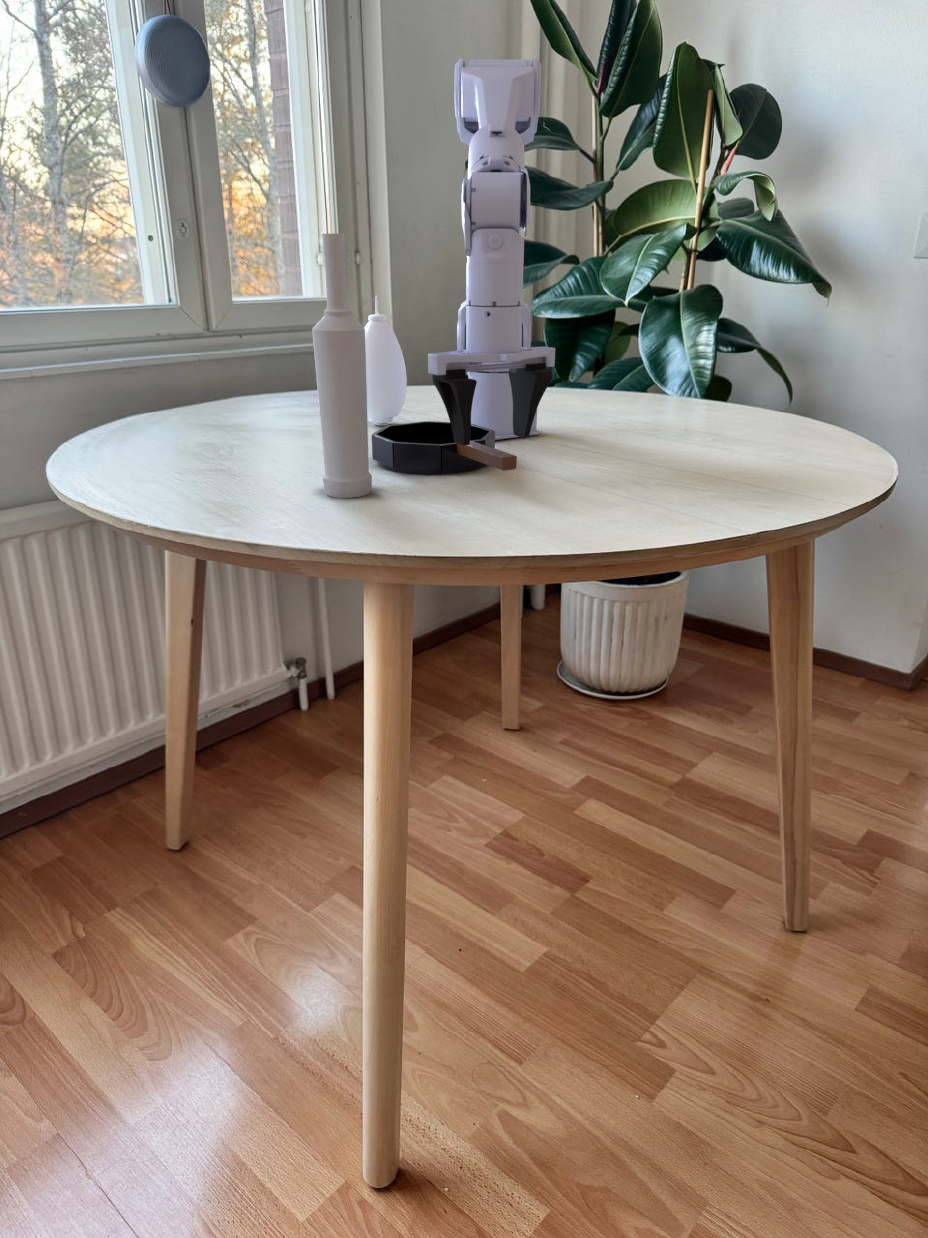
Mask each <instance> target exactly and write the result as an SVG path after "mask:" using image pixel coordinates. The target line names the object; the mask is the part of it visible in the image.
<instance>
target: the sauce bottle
mask: <svg viewBox="0 0 928 1238" xmlns="http://www.w3.org/2000/svg"><path fill="white" fill-rule="evenodd" d="M374 301H375V303H374V304H375V305H374V306H375V311H374V312H375V314H369V315H368V317H367V321H368V322H367V323H366V324H365V326H364V328H365V348H366V385H367V418H368V421H369V422H371V423H373V424H375V425H376V426H388V425H389V423H391V422H394V417H397V416H399V415H400V414H401V411H402V409H403V407H404V404H405V400H406V396H407V390H408V389H407V388H408V378H407V377H408V376H407V368H406V363H405V358H404V354H403V351H402V347H401V344H400V342H399V341H398V338H397V335H396V334H395V331H394V330H393V328H392V327H391V325H390V324H389V322H388V321H387V320H388V317H387V315H385V314H380V308H379V298H378V295H377V294H376V295H375V300H374Z"/></svg>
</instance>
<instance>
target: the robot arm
mask: <svg viewBox="0 0 928 1238" xmlns="http://www.w3.org/2000/svg"><path fill="white" fill-rule="evenodd" d="M453 76H454V77H453V78H454V79H453V80H454V82H453V83H454V85H453V86H454V87H453V88H454V90H453V91H454V93H453V94H454V95H453V97H454V98H453V99H454V116H455V119H456V130H457V131H456V132H457V133H458V135H459V140H460V142H461V143H463V144H465V145H467V146H468V159H467V162H468V163H467V179H466V178H465V177H463V179H462V184H461V226H462V227H461V228H462V231H463V240H464V256H465V258H466V263H465V300H464V301H463V302H462V303H461V304H460V307H459V309H458V313H457V314H458V315H457V317H458V318H457V319H458V320H457V328H456V350H452V351H445V352H433V353H428V354H427V373H428V374H429V375H431V377H432V383H433V385H434V386H435V388H436V390H437V392H438V394H439V396H440V399H441V400H442V403H443V405H444V408H445V411H446V413H447V415H448V416H447V417H448V420H449V422H450V424H451V427H452V432H453V436H454V442H455V443H458V444H461V445H470V438H471V424H474V425H478V426H481V427H484V428H488V429H491V430H494V431H495V441H497V440H505V439H512V438H514V439H515V438H523V439H526V438H527V439H528V438H529V437H530V436H537V435H540V433H541V431H540V430H538V429H537V428H538V408H539V405H540V402H541V400H542V398H543V396H544V394H545V392H546V390H547V388H548V387H549V385H550V384H551V382H552V381H553V377H554V375H553V373H554V372H553V370H552V369H549V368H551V367H552V368H553V367H555V363H556V347H551V346H550V347H549V346H532V345H531V344H532V321H531V309H530V308H529V304H528V303H527V302H526V301H524V299H523V298H524V297H523V295H524V293H523V292H524V290H523V289H524V263H525V258H524V257H525V256H524V255H525V239H524V238H523V237H522V235H521V234H520V229H522V231H523V232H524V237H525V238H527V235H528V230H529V228H530V214H531V182H530V176H529V171H528V168H526V167H525V146H526V145H528V144H530V143H532V142H534V140H535V134H536V133H537V132H538V123H539V122H538V121H539V118H540V113H541V97H542V93H541V92H542V63H541V62H540V61H539V59H538V58H537V57H532V58H531V59H465V58H464V57H463V58H461V57H460V58H458V61H456V63H455V65H454V75H453Z"/></svg>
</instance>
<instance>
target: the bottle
mask: <svg viewBox="0 0 928 1238" xmlns="http://www.w3.org/2000/svg"><path fill="white" fill-rule="evenodd" d="M321 235H322V237H321V238H322V252H323V259H324V261H323V262H324V275H325V276H324V277H325V291H326V292H325V294H326V308H325V309H324V310H323V316H322V317H321V318H320V319H319V320H318V321H317V323H316V324H315V325H314V326H313V327H312V328H311V332H312V333H311V334H312V343H313V345H312V346H313V351H314V352H313V355H314V366H315V376H316V377H315V379H316V387H317V397H318V398H317V401H318V410H319V421H320V433H321V445H322V456H323V466H324V467H323V468H324V474H322V485H323V489H324V492H325V494H326V496H329V497H332V498H338V499H351V498H359V497H364V496H366V495H369V494H370V493H371V490H372V486H373V477H372V474H371V473H370V469H369V468H370V467H369V466H370V464H369V463H370V462H369V461H370V460H369V429H368V428H369V427H368V426H369V425H368V417H367V385H366V348H365V326H363V325H362V324H361V323H360V322H359V321H358V319H356V318H355V317H354V316H353V315H352V310H351V309H350V308H349V307H348V293H347V291H348V289H347V275H346V274H347V272H346V257H345V256H346V249H345V248H346V247H345V246H346V245H345V243H346V242H345V233H322V234H321Z"/></svg>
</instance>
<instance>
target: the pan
mask: <svg viewBox="0 0 928 1238" xmlns="http://www.w3.org/2000/svg"><path fill="white" fill-rule="evenodd" d="M371 450H372V451H371V455H372V460H374V461H375V462H376V463H377V465H378V466H379V467H381V468H383V469H385V470H388V471H391V472H395V473H401V474H407V475H409V474H410V475H424V476H426V475H427V476H439V475H442V476H443V475H444V476H445V475H455V474H457V475H458V474H463V473H465V474H466V473H469V472H474V471H478V470H479V471H480V470H482V469H484V468H486V467H488V466H489V467H492V468H494V469H497V470H500V471H503V472H504V471H511V470H512V471H513V470H516V469H517V465H518V456H517V455H515V454H512V453H509V452H506V451H503V450H500V449H497V448H496V440H495V431H494V430H491V429H488V428H484V427H481V426H478V425H474V424H471V438H470V445H461V444H458V443H455V442H454V436H453V432H452V427H451V424H450V421H434V420H432V421H431V420H430V421H429V420H426V421H416V422H406V423H405V422H404V423H397V424H388V425H384V426H383V427H381V428H380V429H378V430H376V431H374V432H373V433H371Z"/></svg>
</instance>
